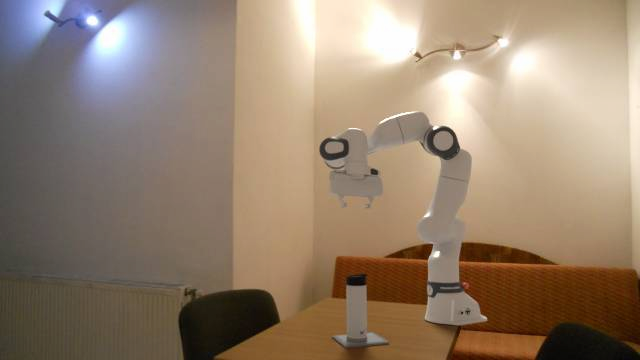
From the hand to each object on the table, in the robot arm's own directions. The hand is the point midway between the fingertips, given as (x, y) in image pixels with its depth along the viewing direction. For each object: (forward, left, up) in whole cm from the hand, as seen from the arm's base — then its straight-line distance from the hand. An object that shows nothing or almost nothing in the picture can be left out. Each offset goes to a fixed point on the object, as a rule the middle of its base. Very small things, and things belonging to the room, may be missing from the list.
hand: (356, 208), depth 168 cm
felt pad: (+8, +22, -41) cm, 47 cm away
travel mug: (+9, +23, -41) cm, 48 cm away
